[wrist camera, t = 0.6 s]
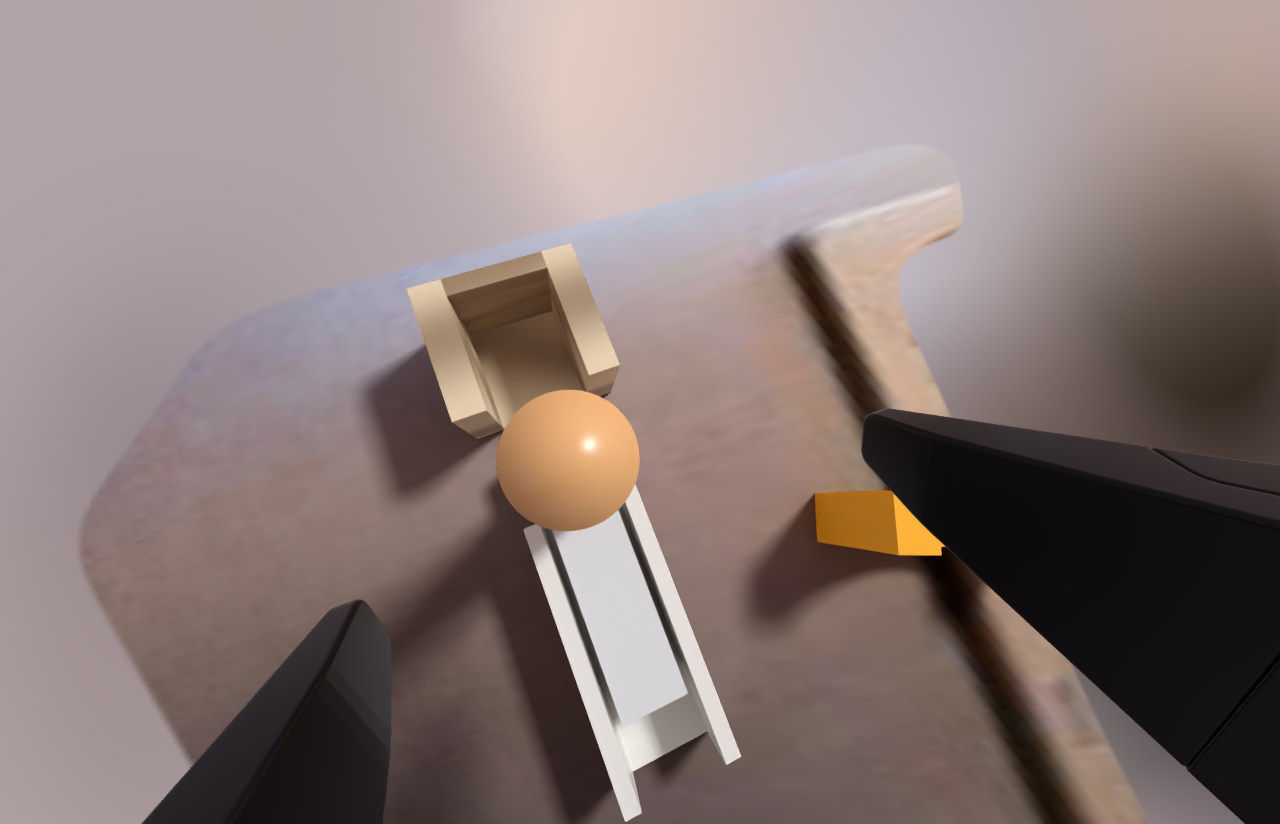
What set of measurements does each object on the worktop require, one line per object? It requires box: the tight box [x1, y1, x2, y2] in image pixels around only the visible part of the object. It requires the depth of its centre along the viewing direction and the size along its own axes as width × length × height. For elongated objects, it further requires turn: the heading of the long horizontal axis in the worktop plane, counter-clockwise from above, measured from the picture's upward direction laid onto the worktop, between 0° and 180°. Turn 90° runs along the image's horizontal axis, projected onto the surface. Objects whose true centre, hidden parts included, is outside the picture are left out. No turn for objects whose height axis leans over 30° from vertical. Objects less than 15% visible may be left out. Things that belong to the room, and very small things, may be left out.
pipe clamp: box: [815, 490, 945, 555], centre depth 23 cm, size 12×4×6 cm, turn 89°
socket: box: [407, 243, 620, 439], centre depth 21 cm, size 6×7×5 cm
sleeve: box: [523, 485, 741, 822], centre depth 21 cm, size 12×5×3 cm, turn 22°
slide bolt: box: [496, 390, 688, 727], centre depth 15 cm, size 12×3×14 cm, turn 22°
